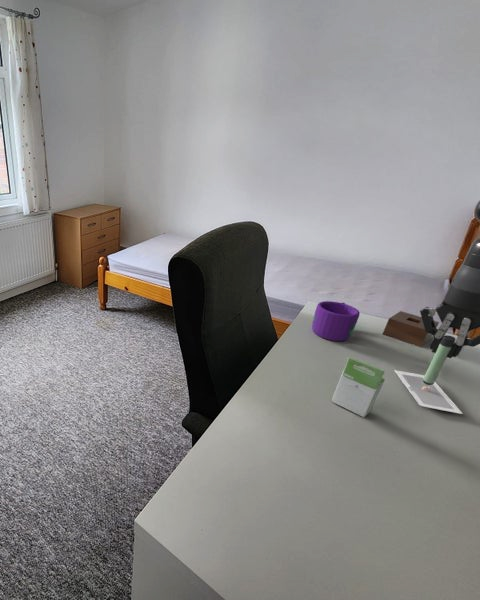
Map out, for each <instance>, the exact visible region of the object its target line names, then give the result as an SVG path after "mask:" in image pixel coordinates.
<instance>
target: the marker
mask: <svg viewBox="0 0 480 600" xmlns="http://www.w3.org/2000/svg"><path fill="white" fill-rule="evenodd" d="M456 339H457V338H455V337H454V336H451V335H446V334H445V335H444V336H443V338H442V340H441V342H440V345H439V347H438V349H437V351H436V353H434V355H433V357H432V360H431V361H430V363H429V366H428V368H427V370H426V372H425V374H424V375H425V376H424V378H423V382H424V383H425V384H426V385H433V384H434V382H436V380H437V378H438V376H439V374H440V372H441V371H442V368H443V367H444V365H445V363H446V360H447V359H448V357H447V355H448V353H449V351H450V350H451V348H452V346H453V344H454V343H455V342H456Z"/></svg>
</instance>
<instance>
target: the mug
mask: <svg viewBox="0 0 480 600" xmlns="http://www.w3.org/2000/svg"><path fill="white" fill-rule="evenodd" d="M360 315H361V314H360V311H359V310H358V308H356V307H354V306H352V305H349V304H346V303H345V302H338V301H332V300H325V301H320V302H319V303H317V304H316V308H315V311H314V315H313V320H312V324H311V329H312V332H313V333H314V334H315V335H317V336H318V337H320V338H322V339H325V340H328V341H332V342H343V341H346V340H348V339H349V338H350V337H351V336H352V334H353V332H354V330H355V328H356V326H357V323H358V320H359V317H360Z"/></svg>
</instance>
